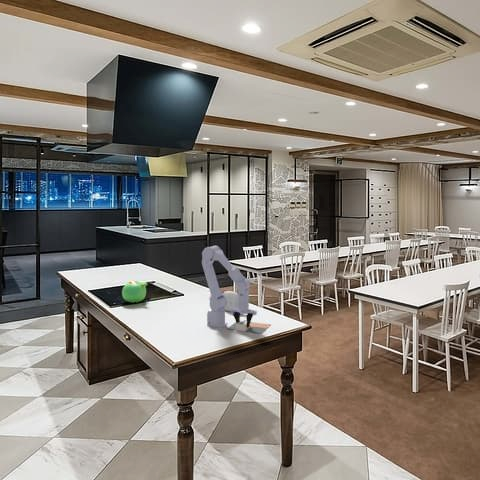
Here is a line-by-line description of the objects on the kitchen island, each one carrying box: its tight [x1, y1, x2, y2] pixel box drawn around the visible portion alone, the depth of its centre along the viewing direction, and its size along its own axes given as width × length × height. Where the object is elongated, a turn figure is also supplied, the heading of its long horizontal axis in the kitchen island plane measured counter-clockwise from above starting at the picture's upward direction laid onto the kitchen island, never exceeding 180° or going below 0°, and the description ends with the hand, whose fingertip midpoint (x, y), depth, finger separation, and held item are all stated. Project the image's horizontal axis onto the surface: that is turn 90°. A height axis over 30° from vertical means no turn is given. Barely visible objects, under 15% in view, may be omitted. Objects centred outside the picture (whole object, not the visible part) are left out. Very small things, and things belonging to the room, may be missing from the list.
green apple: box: [121, 280, 148, 304], centre depth 270 cm, size 18×17×15 cm
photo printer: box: [223, 290, 238, 312], centre depth 250 cm, size 10×4×12 cm, turn 61°
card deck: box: [236, 319, 250, 332], centre depth 215 cm, size 5×8×4 cm, turn 159°
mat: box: [226, 321, 272, 335], centre depth 218 cm, size 20×17×1 cm
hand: (243, 326), depth 215 cm, fingers closed on card deck, 5 cm apart
